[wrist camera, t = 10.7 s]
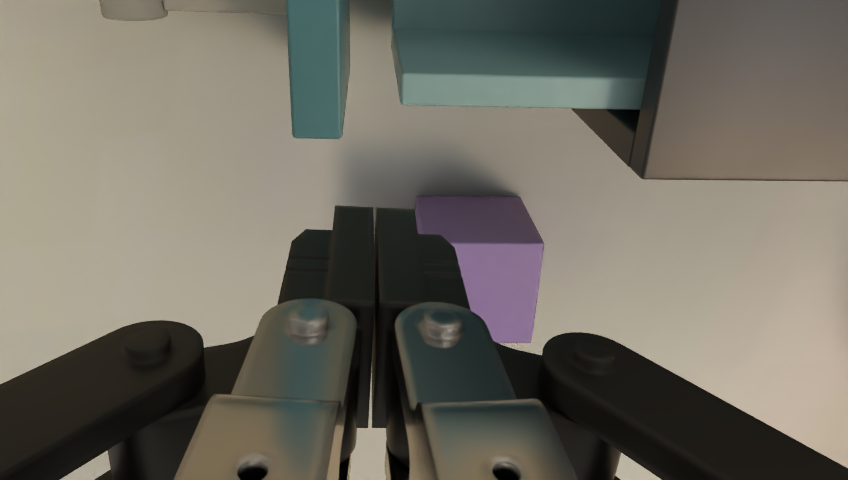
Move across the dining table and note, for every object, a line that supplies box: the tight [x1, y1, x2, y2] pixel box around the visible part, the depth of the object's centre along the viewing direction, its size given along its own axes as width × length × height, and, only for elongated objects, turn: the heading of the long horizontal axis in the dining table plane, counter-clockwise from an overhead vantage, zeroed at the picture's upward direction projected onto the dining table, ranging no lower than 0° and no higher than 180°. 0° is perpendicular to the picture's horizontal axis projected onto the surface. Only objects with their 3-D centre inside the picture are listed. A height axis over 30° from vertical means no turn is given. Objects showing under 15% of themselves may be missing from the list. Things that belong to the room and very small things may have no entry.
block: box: [416, 196, 544, 343], centre depth 26 cm, size 4×4×4 cm
